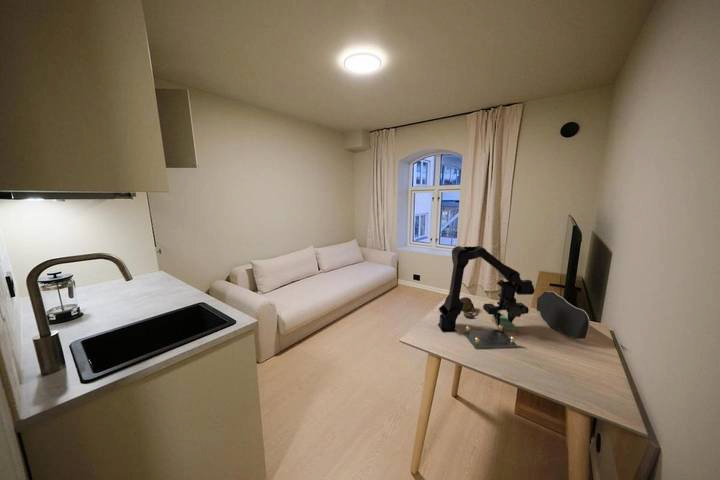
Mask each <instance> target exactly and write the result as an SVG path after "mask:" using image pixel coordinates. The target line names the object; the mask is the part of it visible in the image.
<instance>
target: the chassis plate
mask: <svg viewBox="0 0 720 480" xmlns="http://www.w3.org/2000/svg"><path fill="white" fill-rule="evenodd" d="M470 329H471V326H470V325H466V326H465V330H463V332H462V333H463V335H464V336H465V337H466V339H467V340H468V341H469V342H470V344H471V346H473V348H474V349H475V350H477V349H478V350H482V349H483V350H484V349H507V348H508V349H510V348H512V349H513V348H514V349H515V348H517V346H518V345H517V344H516V336H515V335H510V337H509V335H506V334H505V333H504V332H503V331H502V329H503V325H499V328H498V327H497V329H480V330H479V329H477V330H472V329H471V330H470Z"/></svg>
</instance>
